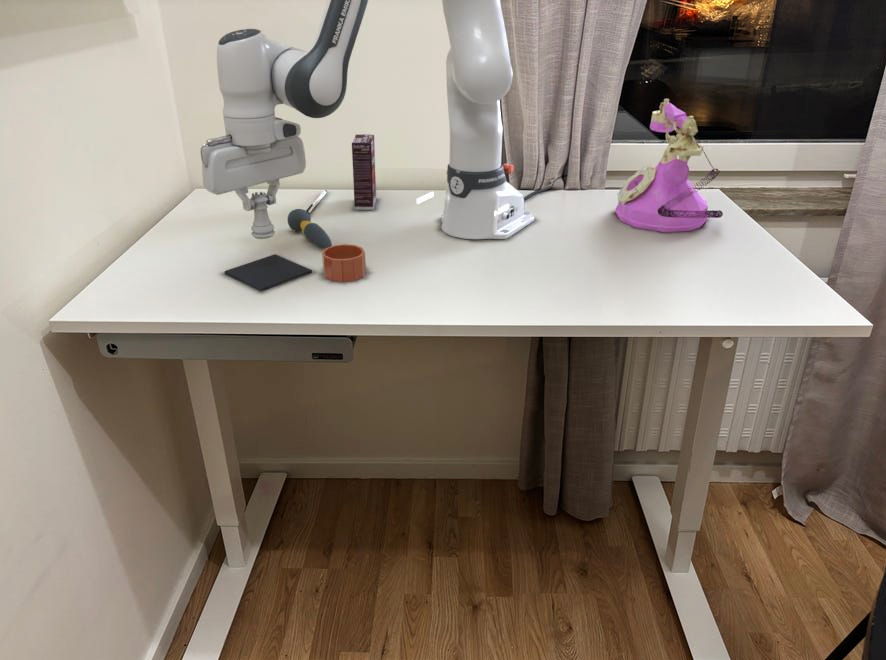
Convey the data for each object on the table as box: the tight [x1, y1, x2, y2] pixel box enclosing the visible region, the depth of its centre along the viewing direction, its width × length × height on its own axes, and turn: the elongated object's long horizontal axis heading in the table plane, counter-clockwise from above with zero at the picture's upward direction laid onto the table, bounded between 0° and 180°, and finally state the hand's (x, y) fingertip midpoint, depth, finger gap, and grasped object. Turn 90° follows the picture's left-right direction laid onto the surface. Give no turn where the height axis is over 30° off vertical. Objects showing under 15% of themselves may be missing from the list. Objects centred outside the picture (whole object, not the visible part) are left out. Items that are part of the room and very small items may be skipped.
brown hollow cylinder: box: [321, 243, 367, 283], centre depth 143 cm, size 8×8×4 cm
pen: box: [305, 189, 328, 215], centre depth 181 cm, size 1×19×1 cm, turn 173°
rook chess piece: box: [250, 191, 276, 240], centre depth 139 cm, size 4×4×8 cm
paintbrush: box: [287, 208, 333, 250], centre depth 160 cm, size 20×5×5 cm, turn 38°
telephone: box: [615, 98, 724, 233], centre depth 162 cm, size 36×22×25 cm, turn 178°
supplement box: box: [351, 133, 377, 211], centre depth 177 cm, size 9×5×16 cm, turn 179°
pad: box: [224, 253, 313, 292], centre depth 145 cm, size 12×12×1 cm
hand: (260, 206), depth 138 cm, fingers closed on rook chess piece, 3 cm apart
